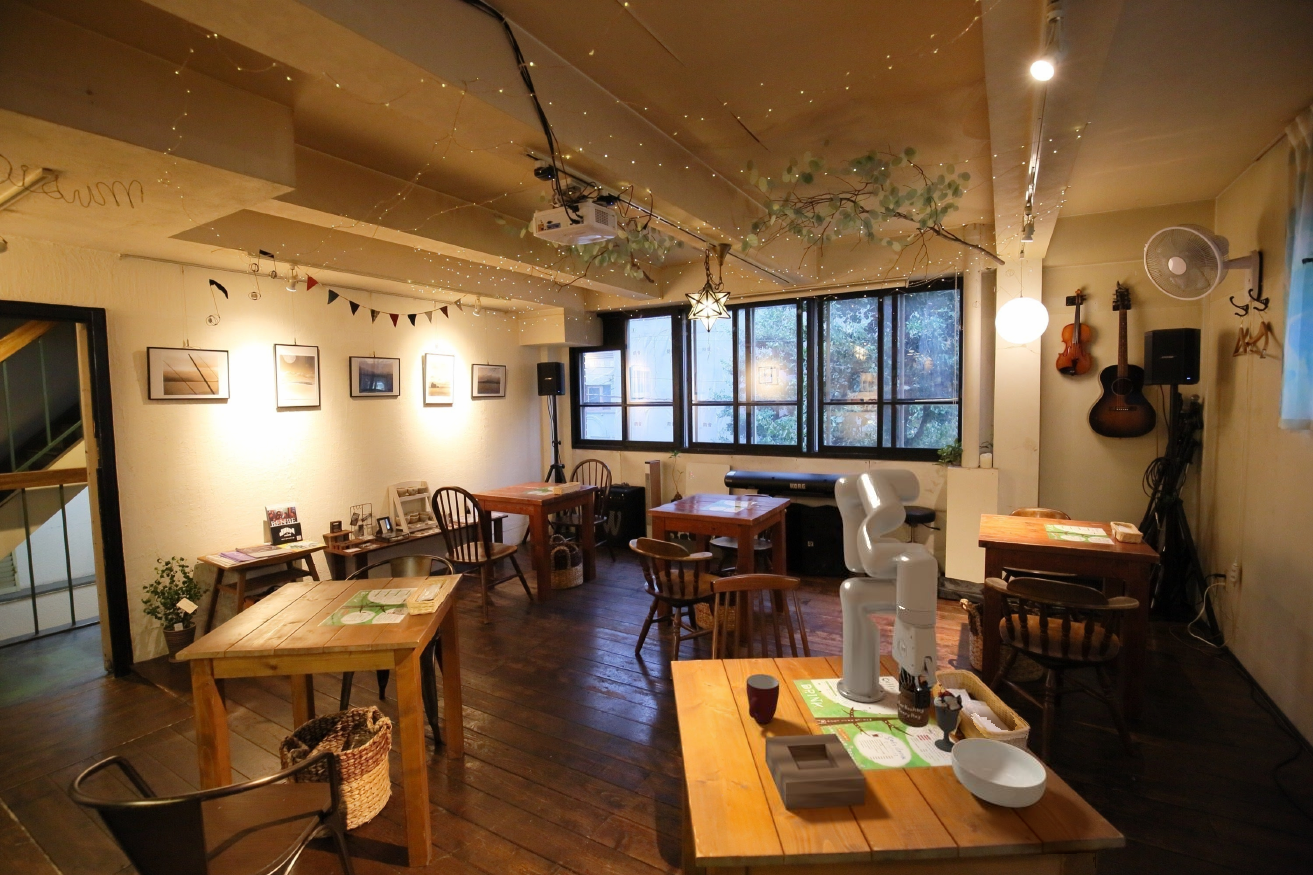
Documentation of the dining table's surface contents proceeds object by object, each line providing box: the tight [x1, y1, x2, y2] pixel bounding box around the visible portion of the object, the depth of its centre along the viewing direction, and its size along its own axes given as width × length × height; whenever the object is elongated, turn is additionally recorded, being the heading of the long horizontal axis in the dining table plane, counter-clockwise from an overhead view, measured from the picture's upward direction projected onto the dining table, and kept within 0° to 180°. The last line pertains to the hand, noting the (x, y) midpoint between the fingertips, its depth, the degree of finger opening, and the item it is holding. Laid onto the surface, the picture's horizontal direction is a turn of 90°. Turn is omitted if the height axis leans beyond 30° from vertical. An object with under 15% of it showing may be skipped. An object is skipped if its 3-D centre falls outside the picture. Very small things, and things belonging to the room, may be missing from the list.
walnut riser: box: [764, 733, 866, 810], centre depth 127 cm, size 16×16×6 cm
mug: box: [746, 673, 780, 725], centre depth 151 cm, size 10×8×10 cm
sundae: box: [930, 683, 964, 753], centre depth 139 cm, size 7×7×15 cm
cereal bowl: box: [950, 737, 1048, 808], centre depth 123 cm, size 17×17×7 cm
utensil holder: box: [897, 666, 930, 729], centre depth 124 cm, size 6×6×12 cm
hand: (914, 698), depth 124 cm, fingers closed on utensil holder, 5 cm apart
